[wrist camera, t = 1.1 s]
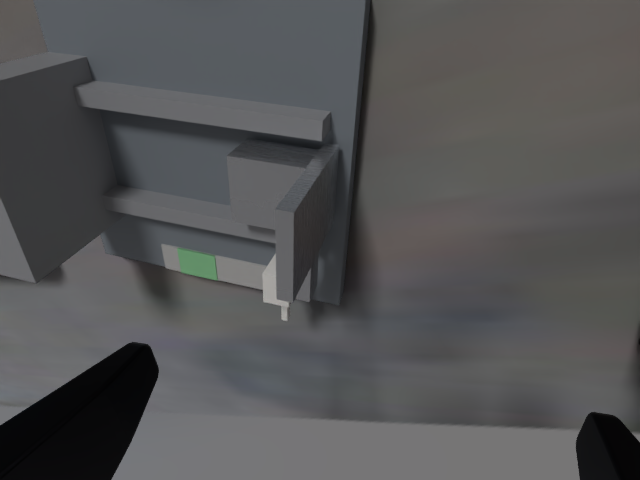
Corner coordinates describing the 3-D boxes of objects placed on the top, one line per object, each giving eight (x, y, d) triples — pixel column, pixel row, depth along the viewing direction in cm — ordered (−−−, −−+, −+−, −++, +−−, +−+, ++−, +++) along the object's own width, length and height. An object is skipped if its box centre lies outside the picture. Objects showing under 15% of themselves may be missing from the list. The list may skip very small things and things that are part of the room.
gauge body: (371, -5, 16) (316, 21, 10) (343, 293, 24) (303, 400, 18) (44, -29, 19) (-141, -19, 13) (116, 244, 26) (21, 323, 21)
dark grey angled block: (339, 144, 18) (293, 212, 13) (330, 270, 21) (292, 358, 17) (246, 131, 18) (173, 190, 14) (253, 254, 22) (197, 333, 17)
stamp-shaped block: (308, 243, 21) (288, 279, 19) (306, 300, 23) (288, 339, 21) (284, 239, 21) (262, 273, 19) (284, 295, 23) (264, 333, 21)
